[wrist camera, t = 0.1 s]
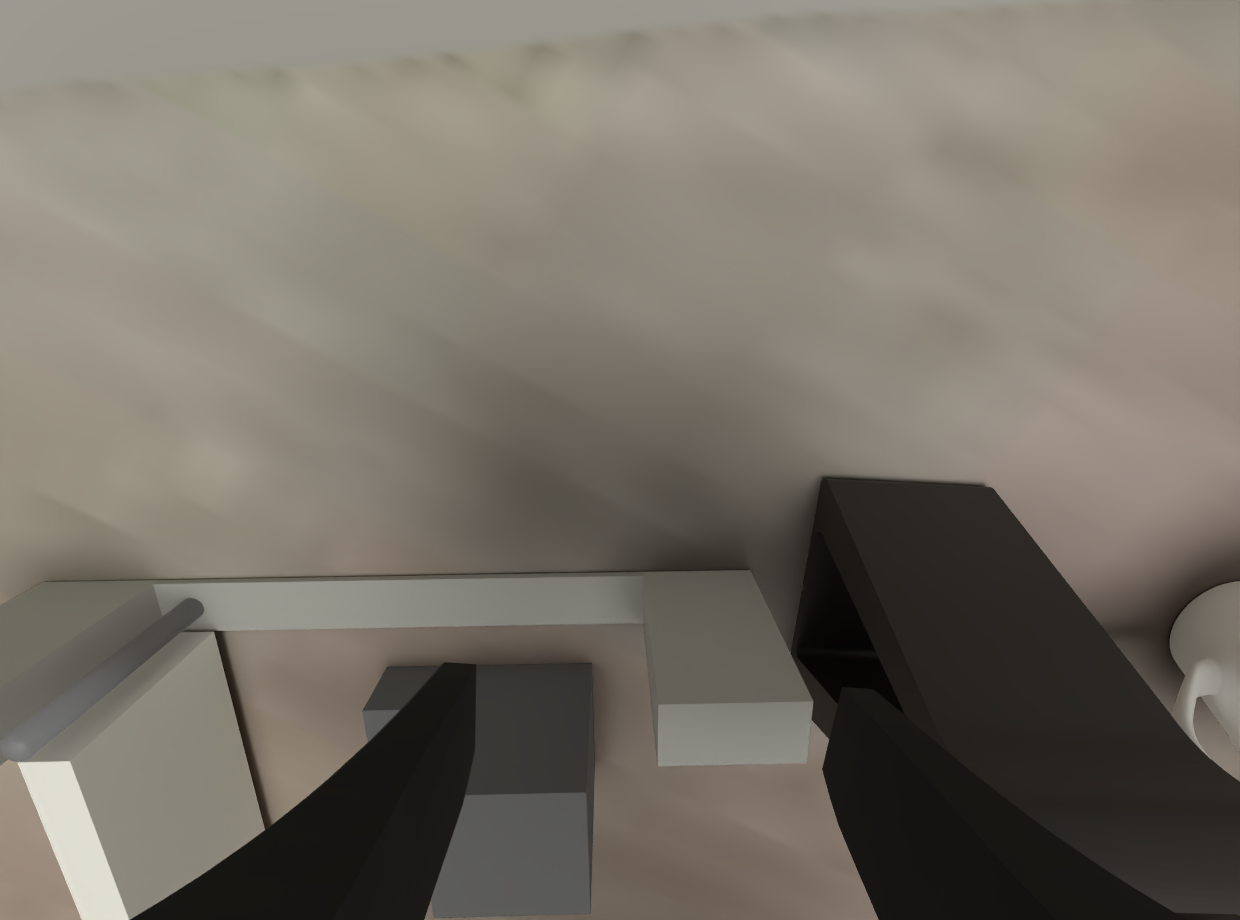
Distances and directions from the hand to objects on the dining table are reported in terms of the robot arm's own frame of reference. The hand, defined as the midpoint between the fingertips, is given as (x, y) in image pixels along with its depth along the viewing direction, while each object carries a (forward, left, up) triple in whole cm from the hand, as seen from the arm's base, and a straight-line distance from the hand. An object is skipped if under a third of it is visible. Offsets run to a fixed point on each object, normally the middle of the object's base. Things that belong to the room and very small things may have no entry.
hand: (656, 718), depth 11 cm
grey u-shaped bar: (-3, +9, -10) cm, 14 cm away
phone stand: (-3, -9, -10) cm, 14 cm away
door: (-12, +17, -10) cm, 23 cm away
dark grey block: (-9, +6, -10) cm, 15 cm away
